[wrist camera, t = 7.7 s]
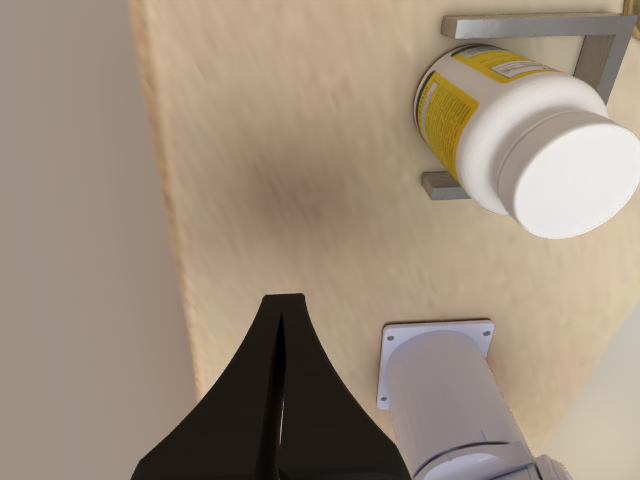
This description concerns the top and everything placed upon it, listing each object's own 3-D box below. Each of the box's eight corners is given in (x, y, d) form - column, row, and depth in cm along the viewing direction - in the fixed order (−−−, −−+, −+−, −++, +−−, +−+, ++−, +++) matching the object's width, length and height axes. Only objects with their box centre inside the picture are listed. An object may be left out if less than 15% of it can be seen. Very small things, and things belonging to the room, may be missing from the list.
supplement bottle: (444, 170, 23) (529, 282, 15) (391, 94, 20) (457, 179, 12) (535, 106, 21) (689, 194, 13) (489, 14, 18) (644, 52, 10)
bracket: (553, 178, 23) (574, 194, 22) (421, 184, 23) (431, 200, 21) (607, 11, 19) (638, 15, 17) (443, 16, 18) (457, 20, 17)
